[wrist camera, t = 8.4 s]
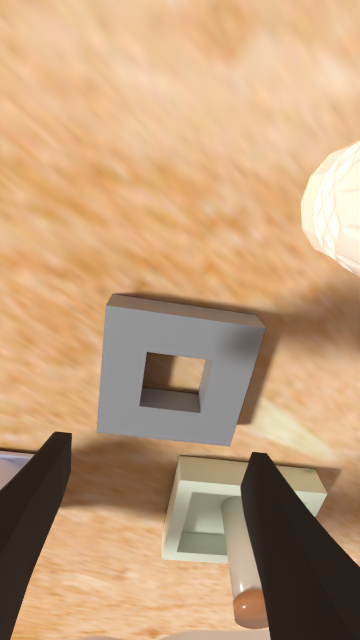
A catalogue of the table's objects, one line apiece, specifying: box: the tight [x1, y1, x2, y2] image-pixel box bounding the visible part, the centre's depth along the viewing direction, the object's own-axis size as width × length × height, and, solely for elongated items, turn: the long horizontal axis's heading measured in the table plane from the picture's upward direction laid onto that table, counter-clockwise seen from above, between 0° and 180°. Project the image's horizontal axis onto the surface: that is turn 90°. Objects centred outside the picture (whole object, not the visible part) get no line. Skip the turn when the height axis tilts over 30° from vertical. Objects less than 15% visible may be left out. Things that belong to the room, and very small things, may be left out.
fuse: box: [221, 496, 269, 629], centre depth 24 cm, size 3×3×8 cm
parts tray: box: [162, 456, 327, 564], centre depth 27 cm, size 12×10×2 cm
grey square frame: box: [97, 294, 266, 446], centre depth 21 cm, size 10×10×2 cm
